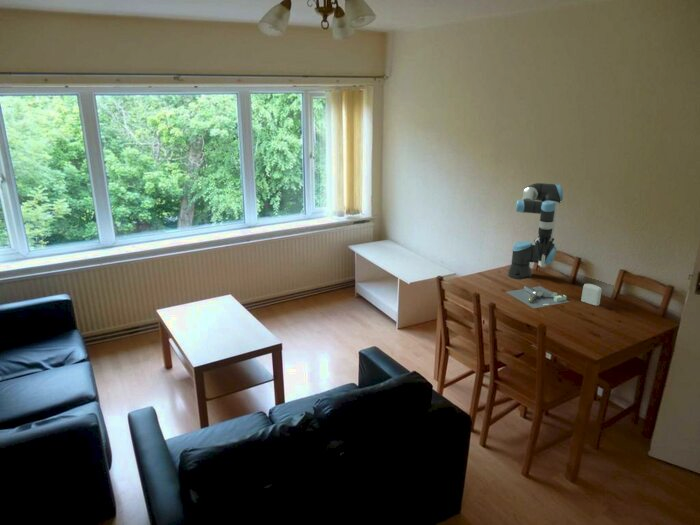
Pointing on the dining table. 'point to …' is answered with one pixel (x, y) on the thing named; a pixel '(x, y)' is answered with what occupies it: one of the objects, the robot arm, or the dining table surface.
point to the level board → (538, 302)
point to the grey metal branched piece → (538, 293)
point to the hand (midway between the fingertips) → (541, 265)
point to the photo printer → (591, 294)
